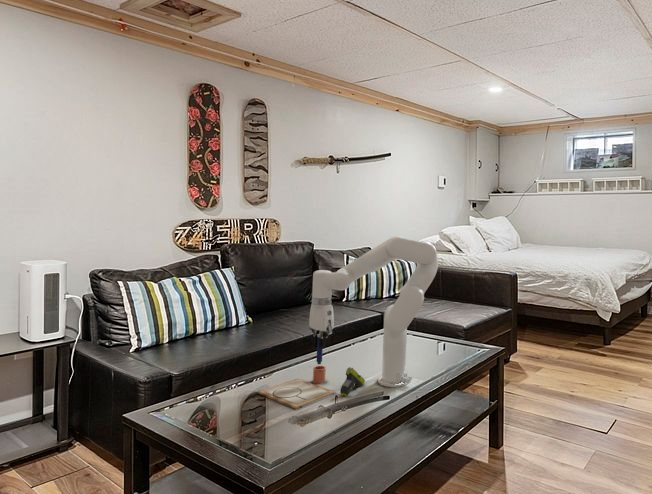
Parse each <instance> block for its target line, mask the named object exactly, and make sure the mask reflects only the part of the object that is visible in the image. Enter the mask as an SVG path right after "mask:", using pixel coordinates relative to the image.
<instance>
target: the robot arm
mask: <svg viewBox="0 0 652 494" xmlns="http://www.w3.org/2000/svg"><path fill="white" fill-rule="evenodd" d="M438 259H439V258H438V253H437V249H436V246H434V244H433V243H432V242H430V241H427V240H422V241H419V240H413V239H409V238H405V237H403V236H402V235H394V236H392V237H390V238H388V239H386V240H385V241H383V242H381V243H379V244H378V245H377V246H375V247H374V248H371V249H370V250H368V251H366V252H365V253H363V254H362V255H361V256H359V257H358V258H356V259H354V260H352V261H351V262H349V263H348V264H346V265H344V266H343V267H341V268H340V269H338V270H337V271H334V272H332V271H331V270H327V269H326V270H325V269H319V270H315V271H313V274H312V294H311V305H310V310H309V317H308V318H309V319H308V324H309V325H308V328H309V330H310V331H311V332H312V336H313V348H317V335H318V334H320V339H319V348H320V349H321V348H323V349H324V348H326V346H327V339H328V337H329V335H332V334H333V330H334V327H335V315H334V314H335V313H334V307H333V305H332V303H333V302H332V301H333V300H332V294H333V290H334V291H345V290H347V289H349V287H350V286H351V284H353V283H354V282H356V281H357V280H359V279H360V278H362V277H363V276H366V275H367V274H370V273H375V272H377V271H379V270H381V269H382V268H384V267H385V266H387V265H389V264H390V263H392V262H393V261H394V262H395V260H401V261H405V262H410V263H411V262H412V263H415V264H416V267H415V268H414V270H413V272H412V274H411V275H410V276H409V278H408V279H407V281H406V282H405V284H404V285H403V286H402V287H401V288H400V291H399V296H398V297H397V299H396V301H395V302H394V303H393V304H391V305H389V306H388V307H386V309H385V311H384V314H383V335H382V336H383V339H382V361H381V362H382V364H381V366H382V367H381V375H380V376H379V377H378V378H377V382H378V384H379V385H380V386H383V387H387V388H398V387H399V388H401V387H404V386H407V385H408V384H410V383H411V381H412V380H413V376H409V373H408V371H407V370H406V369H407V368H406V367H407V344H408V343H407V342H408V327H409V326H410V324H411V323H412V321H413V320H414V318H415V317H416V316H417V314H418V313H419V312H420V310H421V308H422V306H423V304H424V301H425V293H426V291H427V290H428V288H429V287H430V285H431V284H432V282H433V281H434V279H435V277H436V275H437V272H438V268H439V260H438ZM401 382H403V383H404V384H401V385H395V384H399V383H401Z"/></svg>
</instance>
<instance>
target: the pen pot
mask: <svg viewBox="0 0 652 494" xmlns="http://www.w3.org/2000/svg"><path fill="white" fill-rule="evenodd" d="M326 373H327V367H326V366H325V365H315V366H313V368H312V383H313V384H324V383H325V382H326Z"/></svg>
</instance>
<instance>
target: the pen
mask: <svg viewBox="0 0 652 494" xmlns="http://www.w3.org/2000/svg"><path fill="white" fill-rule="evenodd" d="M319 339H320V334H318V335H317V347H316V360H315V361H316V362H317V363H316V364H317V365H321V364H322V362H323V349H324V348H321V349H320V348H319Z"/></svg>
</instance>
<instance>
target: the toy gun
mask: <svg viewBox="0 0 652 494" xmlns="http://www.w3.org/2000/svg"><path fill="white" fill-rule="evenodd" d="M345 376H346V378H345V380H344V382H343V383H342V385H341V386H340V389H339V390H340V391H339V393H340V394H341V396H344V397H346V398H348V397H349V394H350V391H351V390H357V388H358V387H362V386H364V384H365V382H366V379H365V378H364V377H363V376H362V375H360V374H359V373H358V372H357V370H356V369H354V368H353V367H351V366H350V367H349V366H348V367H347V368H346V371H345Z"/></svg>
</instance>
